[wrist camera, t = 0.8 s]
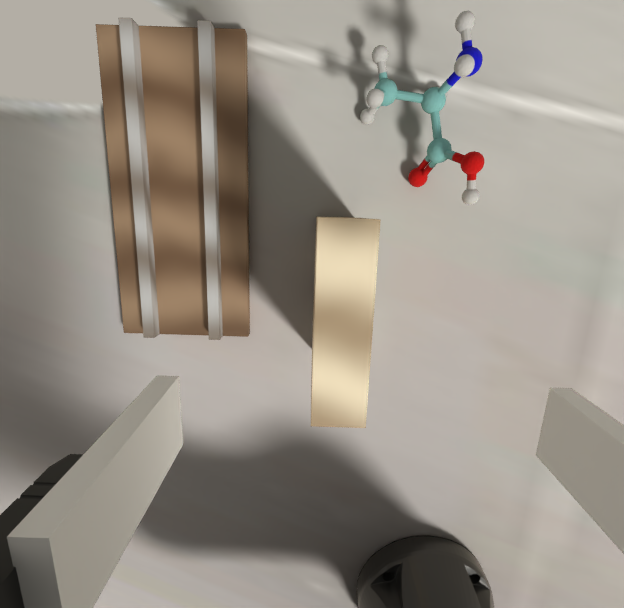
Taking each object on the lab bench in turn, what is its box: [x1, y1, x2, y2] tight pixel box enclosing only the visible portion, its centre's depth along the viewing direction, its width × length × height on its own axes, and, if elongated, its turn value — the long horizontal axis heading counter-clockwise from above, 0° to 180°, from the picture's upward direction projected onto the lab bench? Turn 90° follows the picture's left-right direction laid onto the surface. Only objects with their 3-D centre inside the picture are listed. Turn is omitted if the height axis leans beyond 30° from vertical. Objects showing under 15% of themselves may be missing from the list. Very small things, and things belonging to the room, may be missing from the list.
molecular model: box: [360, 11, 484, 205], centre depth 29 cm, size 12×10×10 cm
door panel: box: [311, 217, 380, 428], centre depth 29 cm, size 13×4×14 cm, turn 178°
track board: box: [96, 18, 250, 340], centre depth 33 cm, size 26×12×2 cm, turn 178°
